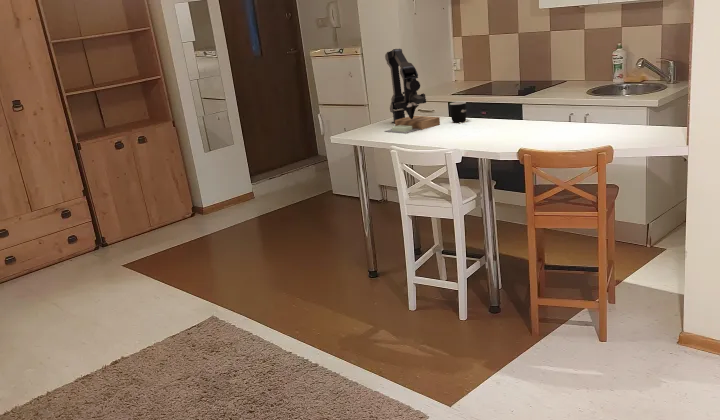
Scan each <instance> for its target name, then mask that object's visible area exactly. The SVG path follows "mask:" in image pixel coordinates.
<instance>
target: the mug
mask: <svg viewBox="0 0 720 420" xmlns="http://www.w3.org/2000/svg"><path fill="white" fill-rule="evenodd" d="M449 111H450V117H451V121H452V122H453V123H454V124H460V123H459V122H461V123H464V121H466V118H467V102H466V101H456V102H450V103H449Z"/></svg>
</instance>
